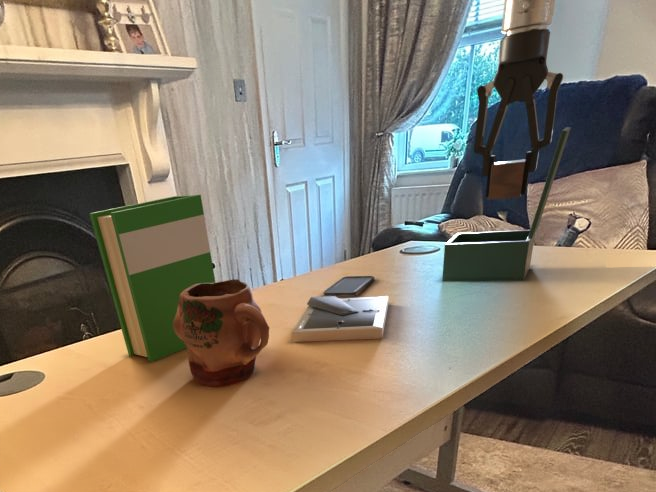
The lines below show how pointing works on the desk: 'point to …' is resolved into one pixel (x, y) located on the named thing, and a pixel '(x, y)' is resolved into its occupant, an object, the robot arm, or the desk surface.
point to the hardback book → (153, 267)
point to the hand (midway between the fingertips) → (505, 194)
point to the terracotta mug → (221, 331)
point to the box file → (488, 256)
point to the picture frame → (342, 319)
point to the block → (506, 179)
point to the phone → (349, 286)
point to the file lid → (549, 181)
